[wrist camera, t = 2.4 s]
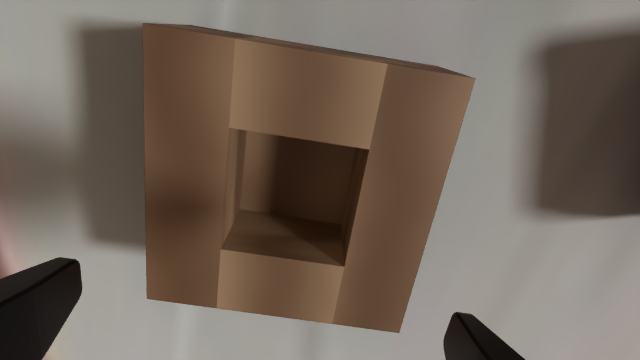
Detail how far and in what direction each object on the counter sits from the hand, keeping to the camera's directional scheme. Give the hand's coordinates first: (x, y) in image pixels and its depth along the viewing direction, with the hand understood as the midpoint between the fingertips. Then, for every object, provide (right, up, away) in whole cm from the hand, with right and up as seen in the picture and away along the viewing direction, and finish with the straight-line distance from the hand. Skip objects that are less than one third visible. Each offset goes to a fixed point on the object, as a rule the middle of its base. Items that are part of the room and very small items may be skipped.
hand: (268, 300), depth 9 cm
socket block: (0, +4, +11) cm, 12 cm away
